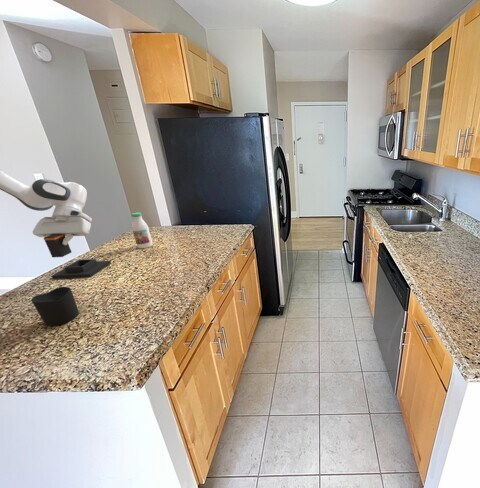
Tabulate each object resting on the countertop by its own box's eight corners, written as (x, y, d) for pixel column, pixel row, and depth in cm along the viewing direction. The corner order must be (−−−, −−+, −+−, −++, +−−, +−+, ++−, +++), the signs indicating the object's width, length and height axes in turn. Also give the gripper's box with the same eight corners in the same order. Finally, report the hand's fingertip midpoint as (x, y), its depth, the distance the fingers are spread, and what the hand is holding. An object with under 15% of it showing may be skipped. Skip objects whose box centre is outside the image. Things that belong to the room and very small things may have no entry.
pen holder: (73, 323, 88) (61, 298, 84) (37, 330, 85) (24, 304, 81) (85, 308, 96) (75, 284, 92) (53, 313, 93) (42, 289, 89)
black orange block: (52, 257, 110) (43, 237, 107) (62, 252, 115) (53, 233, 111) (62, 257, 110) (53, 237, 107) (72, 252, 115) (64, 233, 112)
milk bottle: (141, 244, 155) (132, 211, 148) (155, 243, 156) (146, 211, 148) (134, 249, 148) (124, 215, 141) (148, 248, 149) (139, 214, 141)
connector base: (52, 278, 117) (49, 270, 115) (77, 264, 130) (74, 257, 128) (90, 276, 118) (87, 269, 117) (111, 263, 131) (108, 256, 130)
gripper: (34, 213, 112) (22, 243, 106) (85, 212, 113) (75, 241, 108) (48, 220, 117) (37, 248, 112) (96, 219, 119) (87, 246, 114)
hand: (56, 245), depth 110 cm, fingers closed on black orange block, 4 cm apart
